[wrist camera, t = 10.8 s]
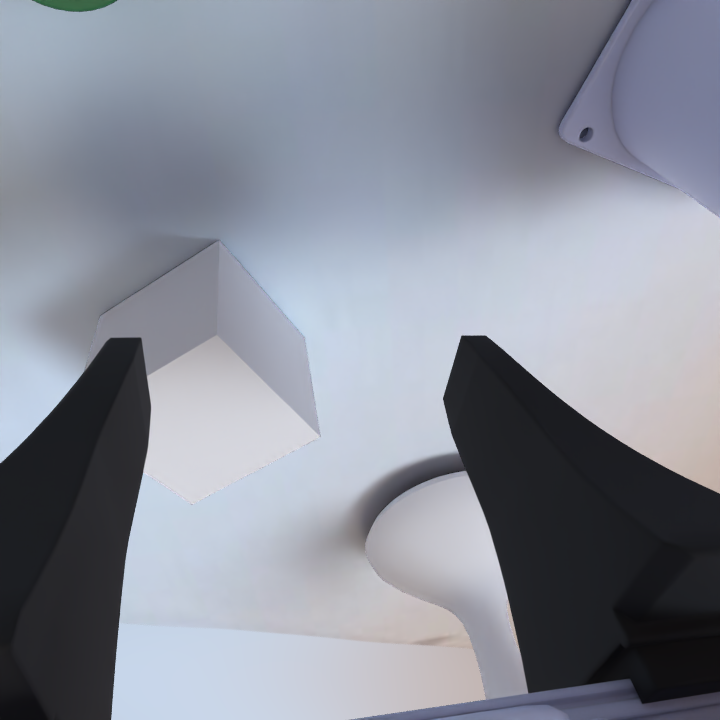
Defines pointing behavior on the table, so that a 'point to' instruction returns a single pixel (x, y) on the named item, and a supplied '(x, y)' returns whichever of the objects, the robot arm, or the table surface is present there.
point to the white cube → (215, 374)
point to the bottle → (76, 4)
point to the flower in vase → (451, 570)
